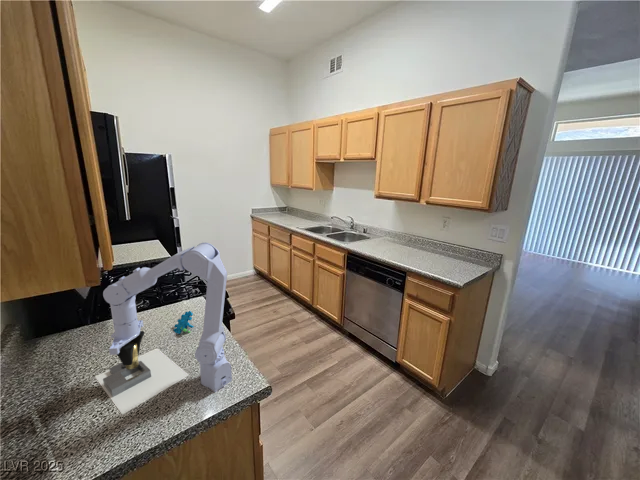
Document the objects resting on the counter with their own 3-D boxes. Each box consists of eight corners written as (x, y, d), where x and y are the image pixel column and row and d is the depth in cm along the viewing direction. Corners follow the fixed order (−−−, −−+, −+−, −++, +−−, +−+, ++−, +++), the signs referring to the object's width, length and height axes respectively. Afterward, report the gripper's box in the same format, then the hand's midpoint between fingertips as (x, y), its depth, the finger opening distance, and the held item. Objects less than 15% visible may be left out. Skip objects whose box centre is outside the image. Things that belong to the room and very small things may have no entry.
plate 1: (151, 376, 82) (150, 372, 82) (125, 390, 76) (124, 386, 76) (134, 360, 89) (134, 355, 89) (109, 371, 83) (108, 367, 83)
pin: (140, 365, 80) (138, 345, 79) (128, 370, 78) (126, 350, 76) (136, 360, 82) (134, 341, 81) (124, 366, 80) (121, 345, 78)
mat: (189, 377, 83) (189, 375, 83) (122, 417, 69) (122, 414, 69) (157, 350, 96) (157, 348, 95) (95, 379, 81) (94, 376, 81)
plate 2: (151, 376, 82) (150, 370, 81) (112, 397, 74) (111, 390, 73) (141, 367, 86) (140, 360, 85) (104, 385, 78) (102, 378, 77)
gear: (172, 322, 111) (189, 305, 112) (183, 328, 114) (200, 311, 115) (171, 340, 102) (190, 321, 103) (184, 345, 105) (202, 327, 106)
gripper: (124, 308, 83) (129, 346, 86) (93, 335, 69) (101, 378, 72) (148, 307, 84) (152, 344, 87) (123, 333, 70) (129, 376, 73)
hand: (131, 360), depth 80 cm, fingers closed on pin, 3 cm apart
